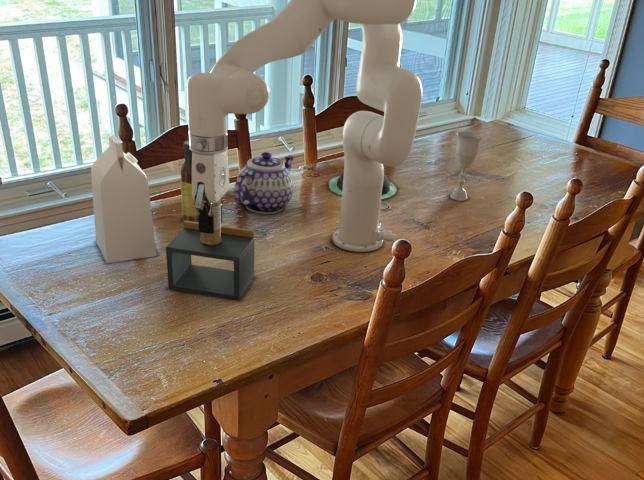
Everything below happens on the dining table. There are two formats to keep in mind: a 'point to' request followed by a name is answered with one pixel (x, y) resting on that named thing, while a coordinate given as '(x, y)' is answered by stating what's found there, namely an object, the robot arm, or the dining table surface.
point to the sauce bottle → (187, 187)
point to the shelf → (208, 279)
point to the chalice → (465, 158)
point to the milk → (121, 206)
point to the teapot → (265, 184)
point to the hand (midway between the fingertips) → (210, 226)
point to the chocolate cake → (387, 188)
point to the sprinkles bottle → (216, 236)
